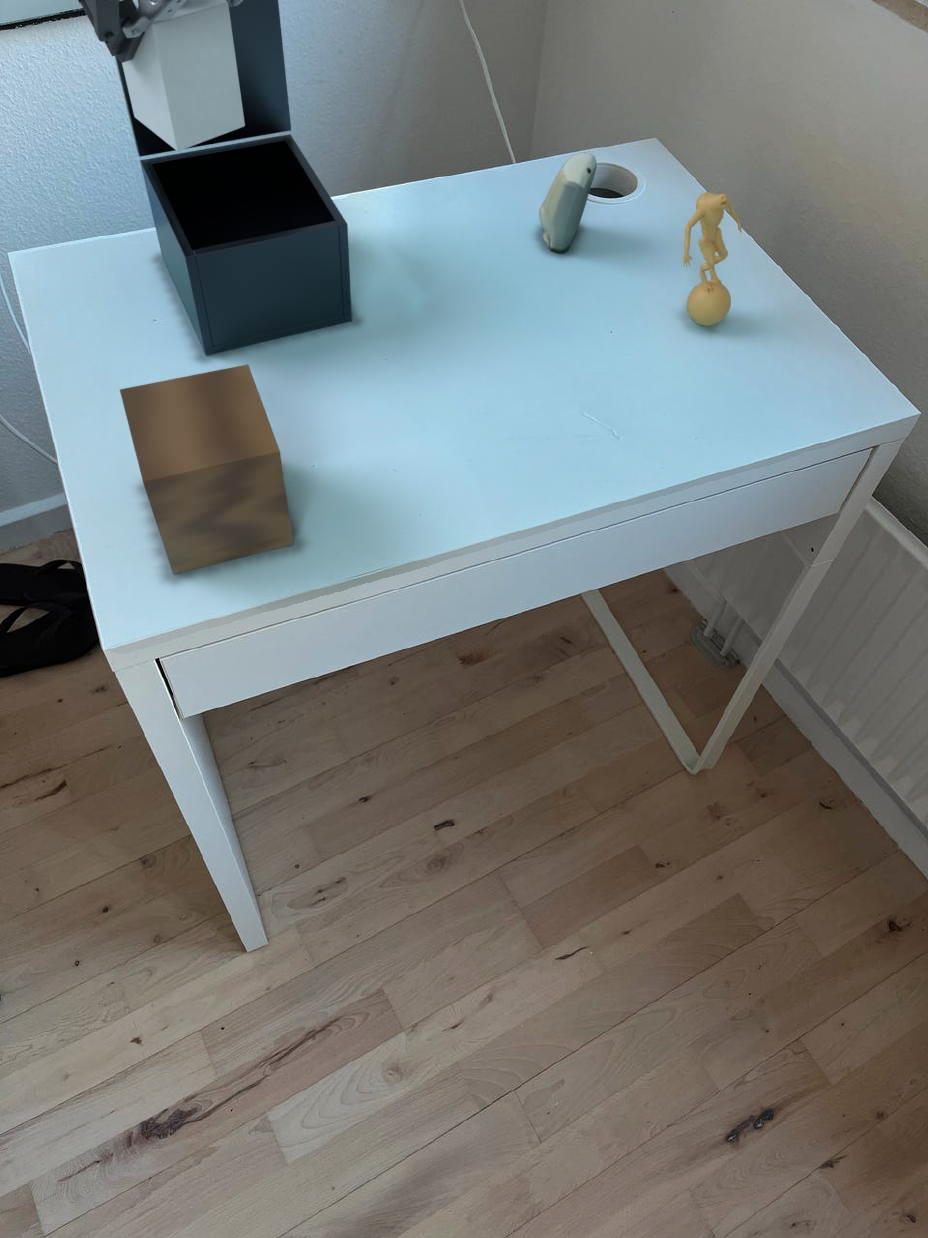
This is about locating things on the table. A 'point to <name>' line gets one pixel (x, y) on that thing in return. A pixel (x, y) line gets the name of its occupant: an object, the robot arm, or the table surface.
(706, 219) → the figurine
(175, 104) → the white box
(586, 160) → the grey-green elongated block
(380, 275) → the table surface
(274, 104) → the lid
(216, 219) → the black open box
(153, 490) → the brown box
